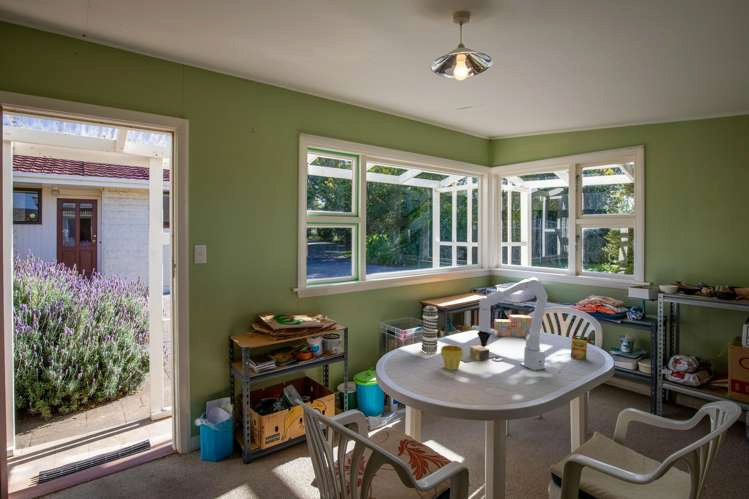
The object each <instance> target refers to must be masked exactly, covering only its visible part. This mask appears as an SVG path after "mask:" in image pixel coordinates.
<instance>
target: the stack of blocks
mask: <svg viewBox="0 0 749 499" xmlns="http://www.w3.org/2000/svg"><path fill="white" fill-rule="evenodd" d="M532 319H533V317H531V315H527V314H526V315H525V314H509V315H508V319H505V318H504V319H502V318H501V319H500V318H495V319H494V322H493V323H494V324H493V326H494V327H493V330H495V331H498V335H496V336H495V337H520V338H521V337H522V338H526V336H527V334H528V333H529V330H530V328H531V323H532Z"/></svg>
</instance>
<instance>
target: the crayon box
mask: <svg viewBox="0 0 749 499" xmlns="http://www.w3.org/2000/svg"><path fill="white" fill-rule="evenodd" d="M587 349H588V336H581V335H575V334H572V339H571V350H570V358H571V359H572V358H573V359H577V358H578V360H584V359H585V361H586V360H587V352H588V350H587Z"/></svg>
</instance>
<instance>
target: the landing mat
mask: <svg viewBox="0 0 749 499" xmlns="http://www.w3.org/2000/svg"><path fill="white" fill-rule="evenodd" d="M462 349H463V356H462V357H461V360H460V362H461V361H462V362H463V363H465V364H467V363H472V362H478V361H479V360H478V359H476V358H474V357H472V356H470V347H465V348H464V347H463V348H462ZM494 358H500V356H499V355H498V354H496V353H494V352H491V351H489V359H488V360H490V359H494Z"/></svg>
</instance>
